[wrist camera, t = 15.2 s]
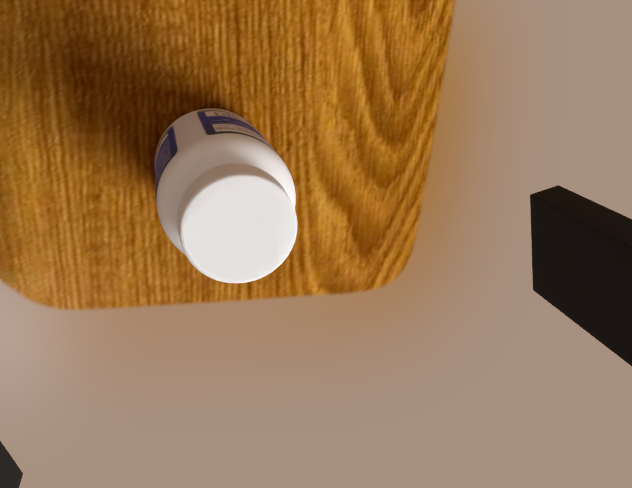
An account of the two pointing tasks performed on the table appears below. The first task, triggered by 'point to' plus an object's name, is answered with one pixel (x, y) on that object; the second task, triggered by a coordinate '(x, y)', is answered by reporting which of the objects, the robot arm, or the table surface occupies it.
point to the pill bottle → (224, 196)
